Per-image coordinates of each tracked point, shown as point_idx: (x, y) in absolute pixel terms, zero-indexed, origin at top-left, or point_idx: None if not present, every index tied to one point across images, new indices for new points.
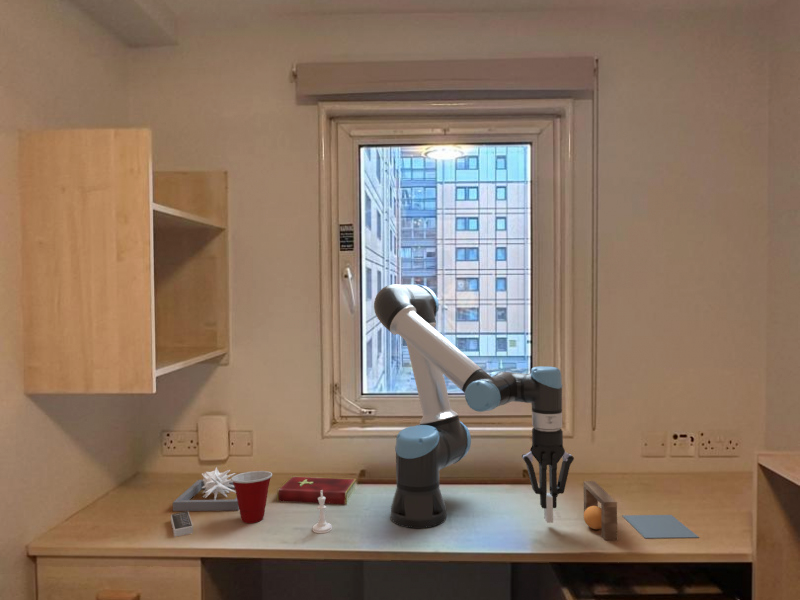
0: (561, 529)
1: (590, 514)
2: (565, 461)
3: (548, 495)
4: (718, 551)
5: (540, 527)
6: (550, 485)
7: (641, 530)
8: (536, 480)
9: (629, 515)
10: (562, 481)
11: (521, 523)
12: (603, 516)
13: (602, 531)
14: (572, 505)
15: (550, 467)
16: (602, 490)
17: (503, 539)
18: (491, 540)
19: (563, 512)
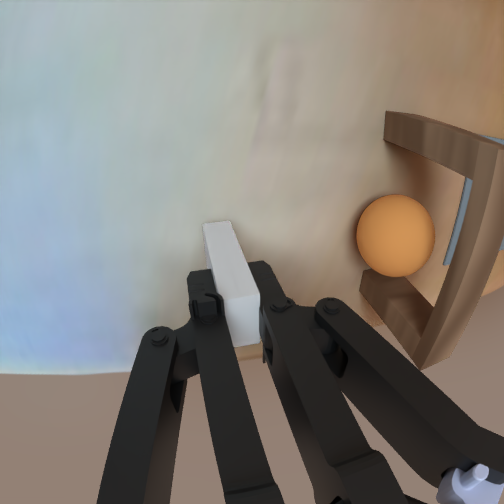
0: (260, 235)
1: (382, 272)
2: (444, 479)
3: (241, 330)
4: (490, 290)
5: (180, 226)
6: (275, 357)
7: (460, 229)
8: (175, 443)
9: (485, 136)
10: (353, 394)
11: (103, 198)
12: (396, 327)
13: (371, 287)
14: (376, 10)
15: (322, 483)
16: (488, 269)
17: (57, 323)
18: (29, 330)
19: (321, 69)
